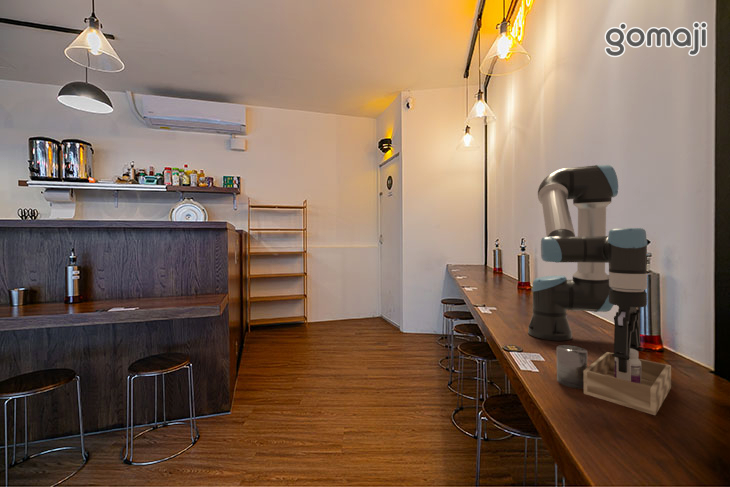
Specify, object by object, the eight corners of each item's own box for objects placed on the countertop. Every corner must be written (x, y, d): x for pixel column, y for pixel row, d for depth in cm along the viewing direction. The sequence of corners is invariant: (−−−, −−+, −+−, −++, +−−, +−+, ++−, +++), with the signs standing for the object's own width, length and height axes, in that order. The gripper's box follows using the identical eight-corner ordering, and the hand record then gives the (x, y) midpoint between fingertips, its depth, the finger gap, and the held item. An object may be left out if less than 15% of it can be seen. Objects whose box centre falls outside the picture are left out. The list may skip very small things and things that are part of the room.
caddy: (607, 371, 95) (606, 351, 95) (671, 387, 84) (670, 365, 84) (583, 393, 82) (583, 370, 82) (655, 415, 72) (655, 389, 72)
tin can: (562, 374, 93) (562, 343, 93) (591, 382, 88) (591, 349, 88) (552, 382, 89) (552, 349, 89) (582, 391, 84) (581, 356, 83)
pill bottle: (616, 380, 87) (616, 344, 87) (642, 387, 83) (642, 349, 83) (612, 387, 83) (612, 349, 83) (639, 394, 79) (640, 354, 79)
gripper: (619, 283, 92) (620, 365, 92) (597, 292, 79) (597, 386, 80) (655, 286, 86) (655, 373, 87) (636, 296, 73) (637, 397, 74)
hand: (627, 379), depth 83 cm, fingers open, 7 cm apart
